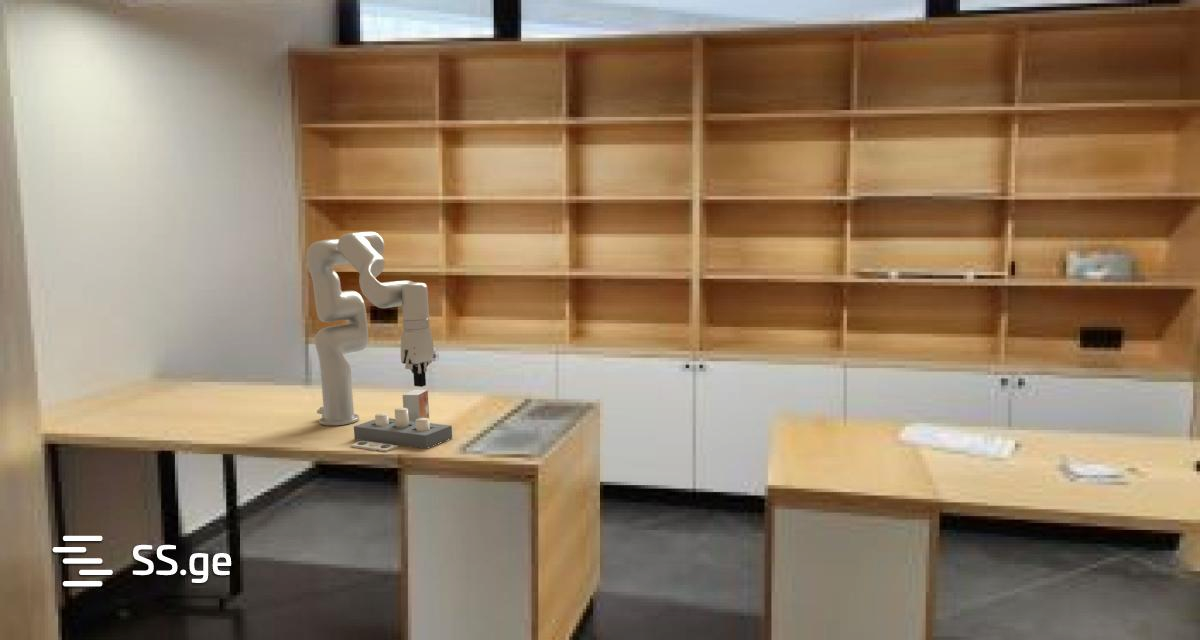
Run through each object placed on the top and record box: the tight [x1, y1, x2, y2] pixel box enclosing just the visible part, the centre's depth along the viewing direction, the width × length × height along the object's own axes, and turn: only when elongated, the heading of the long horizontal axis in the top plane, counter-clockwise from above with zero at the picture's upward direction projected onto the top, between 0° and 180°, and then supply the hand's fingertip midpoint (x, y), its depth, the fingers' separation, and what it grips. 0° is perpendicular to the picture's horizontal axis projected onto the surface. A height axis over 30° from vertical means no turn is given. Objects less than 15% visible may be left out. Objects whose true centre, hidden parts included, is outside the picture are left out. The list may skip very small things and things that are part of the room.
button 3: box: [416, 417, 431, 431], centre depth 277 cm, size 4×4×7 cm
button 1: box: [374, 412, 390, 426], centre depth 284 cm, size 4×4×7 cm
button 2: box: [394, 407, 409, 429], centre depth 280 cm, size 4×4×7 cm
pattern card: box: [349, 440, 399, 452], centre depth 273 cm, size 14×5×1 cm, turn 61°
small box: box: [402, 389, 430, 421], centre depth 298 cm, size 8×6×10 cm
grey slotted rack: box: [353, 417, 453, 449], centre depth 281 cm, size 28×12×4 cm, turn 61°
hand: (420, 385), depth 275 cm, fingers closed
